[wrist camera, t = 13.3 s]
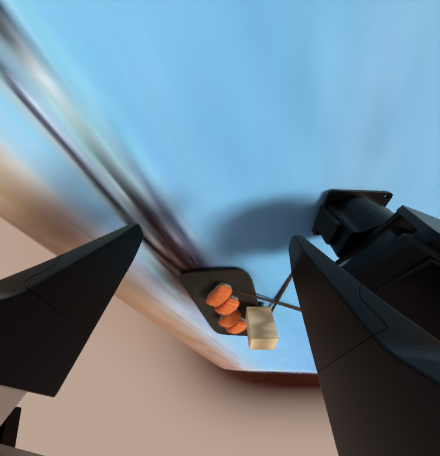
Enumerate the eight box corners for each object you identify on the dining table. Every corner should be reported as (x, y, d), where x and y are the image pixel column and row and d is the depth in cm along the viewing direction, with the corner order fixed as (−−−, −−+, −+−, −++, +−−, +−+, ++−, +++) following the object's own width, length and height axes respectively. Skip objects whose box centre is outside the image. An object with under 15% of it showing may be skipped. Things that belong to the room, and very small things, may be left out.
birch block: (270, 306, 34) (278, 338, 29) (267, 318, 36) (274, 349, 31) (246, 306, 34) (251, 339, 29) (245, 318, 36) (249, 349, 32)
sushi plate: (178, 266, 32) (171, 282, 29) (348, 252, 25) (362, 273, 22) (216, 327, 49) (214, 342, 46) (327, 331, 41) (333, 349, 38)
